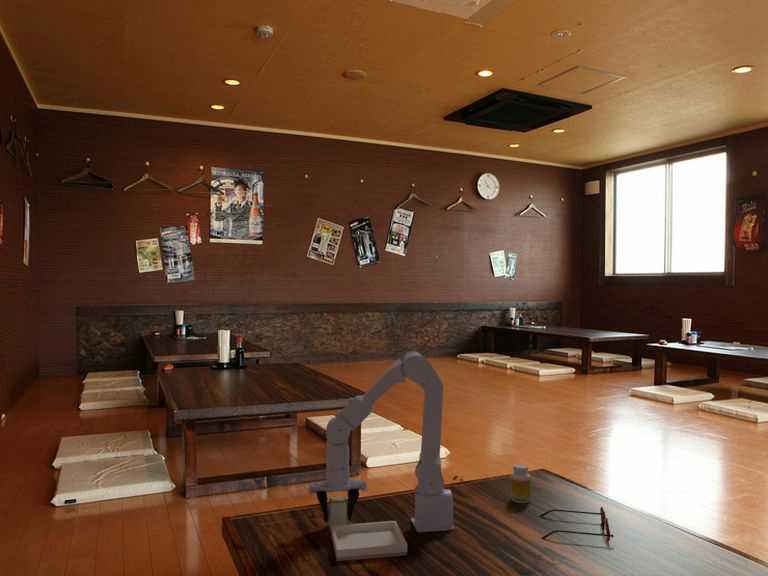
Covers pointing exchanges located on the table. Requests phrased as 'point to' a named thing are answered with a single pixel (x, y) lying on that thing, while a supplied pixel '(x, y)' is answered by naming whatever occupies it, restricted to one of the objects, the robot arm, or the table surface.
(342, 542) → the serving tray
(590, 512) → the glasses
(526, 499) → the supplement bottle
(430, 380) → the robot arm
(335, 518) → the sage block
